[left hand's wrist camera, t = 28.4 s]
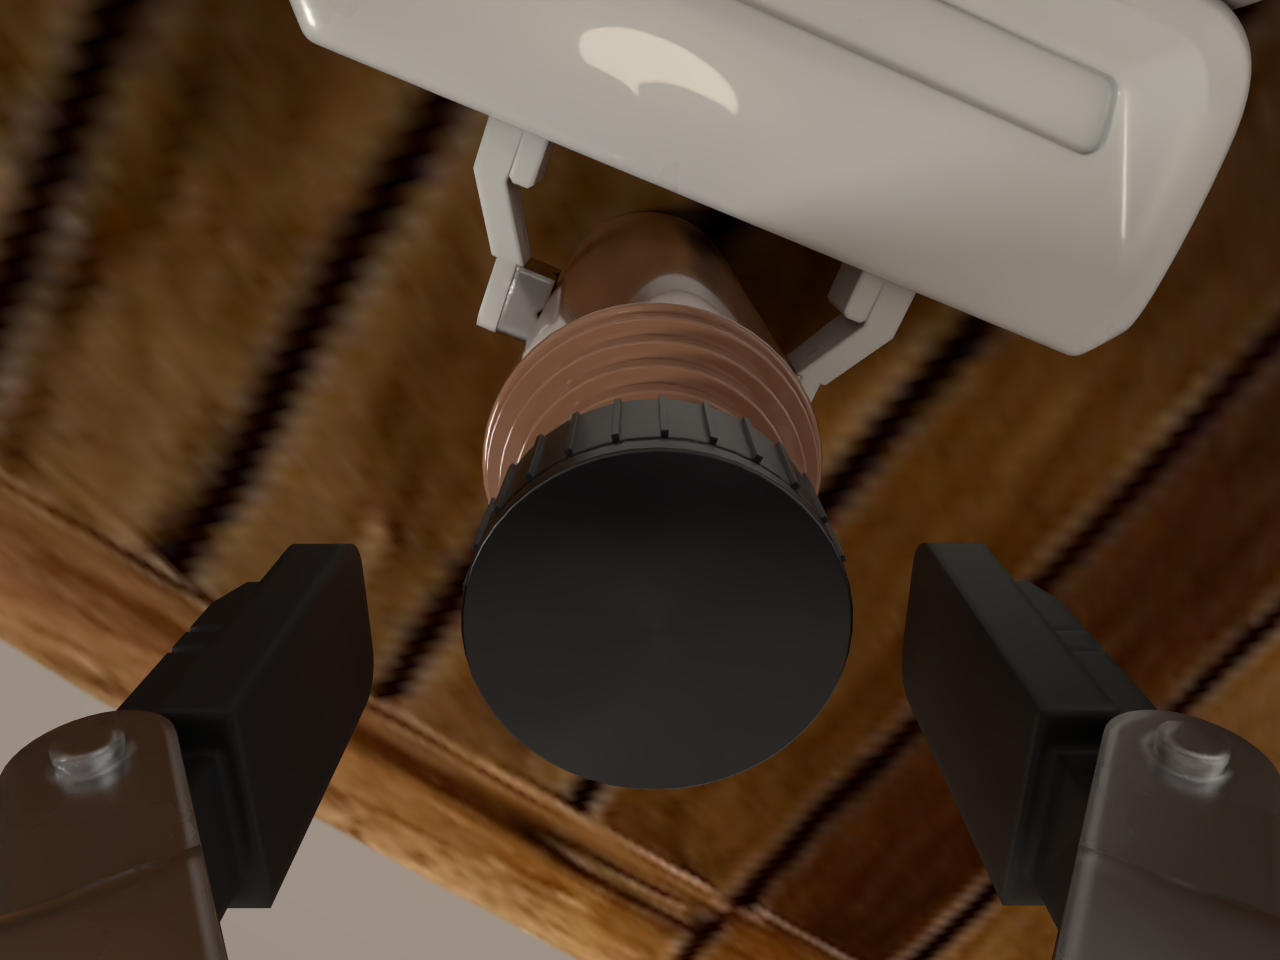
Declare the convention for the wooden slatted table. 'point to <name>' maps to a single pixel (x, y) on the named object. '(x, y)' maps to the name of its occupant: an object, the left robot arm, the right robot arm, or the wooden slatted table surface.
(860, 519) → the wooden slatted table surface
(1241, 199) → the wooden slatted table surface
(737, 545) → the cap
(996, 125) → the right robot arm
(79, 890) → the left robot arm
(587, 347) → the bottle
